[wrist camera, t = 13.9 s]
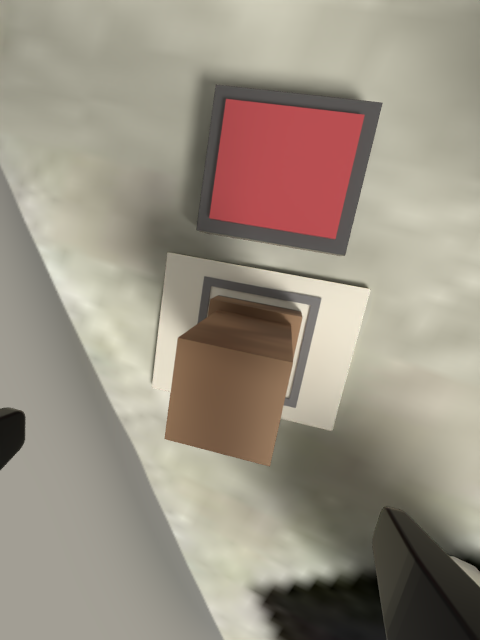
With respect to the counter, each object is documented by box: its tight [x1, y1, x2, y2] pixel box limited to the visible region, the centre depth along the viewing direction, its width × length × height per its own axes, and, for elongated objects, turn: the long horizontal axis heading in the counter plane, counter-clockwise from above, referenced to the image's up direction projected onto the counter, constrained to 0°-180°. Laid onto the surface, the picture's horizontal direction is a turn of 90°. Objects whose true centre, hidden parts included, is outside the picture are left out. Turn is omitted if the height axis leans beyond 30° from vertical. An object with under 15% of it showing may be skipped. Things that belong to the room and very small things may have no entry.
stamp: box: [165, 295, 303, 466], centre depth 14 cm, size 5×5×8 cm
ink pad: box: [197, 85, 382, 256], centre depth 15 cm, size 8×7×2 cm
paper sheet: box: [152, 252, 371, 431], centre depth 18 cm, size 12×9×1 cm
